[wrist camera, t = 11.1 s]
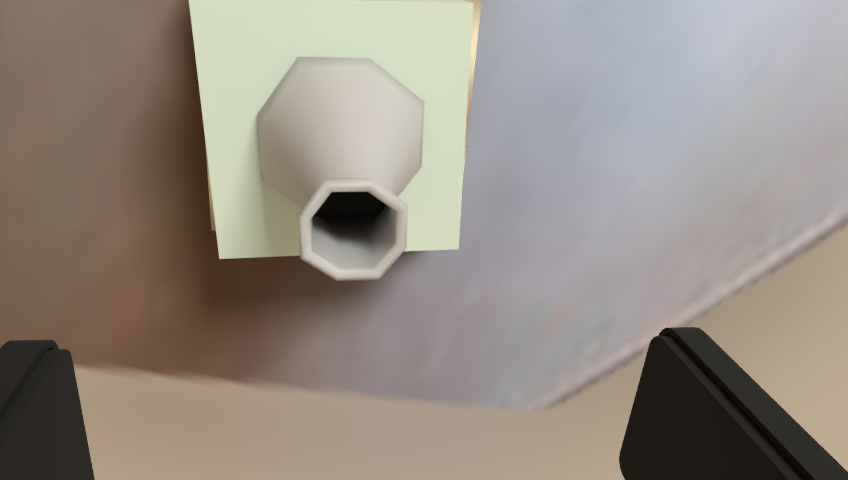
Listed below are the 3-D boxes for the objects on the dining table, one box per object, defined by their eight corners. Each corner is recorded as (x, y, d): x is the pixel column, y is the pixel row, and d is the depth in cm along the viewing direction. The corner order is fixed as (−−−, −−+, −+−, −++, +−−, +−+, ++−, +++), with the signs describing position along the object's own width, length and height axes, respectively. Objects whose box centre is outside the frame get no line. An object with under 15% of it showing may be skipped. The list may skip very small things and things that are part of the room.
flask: (393, 236, 29) (426, 363, 20) (235, 191, 27) (193, 310, 18) (450, 87, 26) (518, 154, 17) (281, 25, 24) (259, 65, 15)
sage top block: (206, -10, 27) (188, -4, 23) (451, -4, 29) (473, 3, 25) (231, 220, 32) (219, 258, 28) (441, 213, 34) (458, 248, 29)
